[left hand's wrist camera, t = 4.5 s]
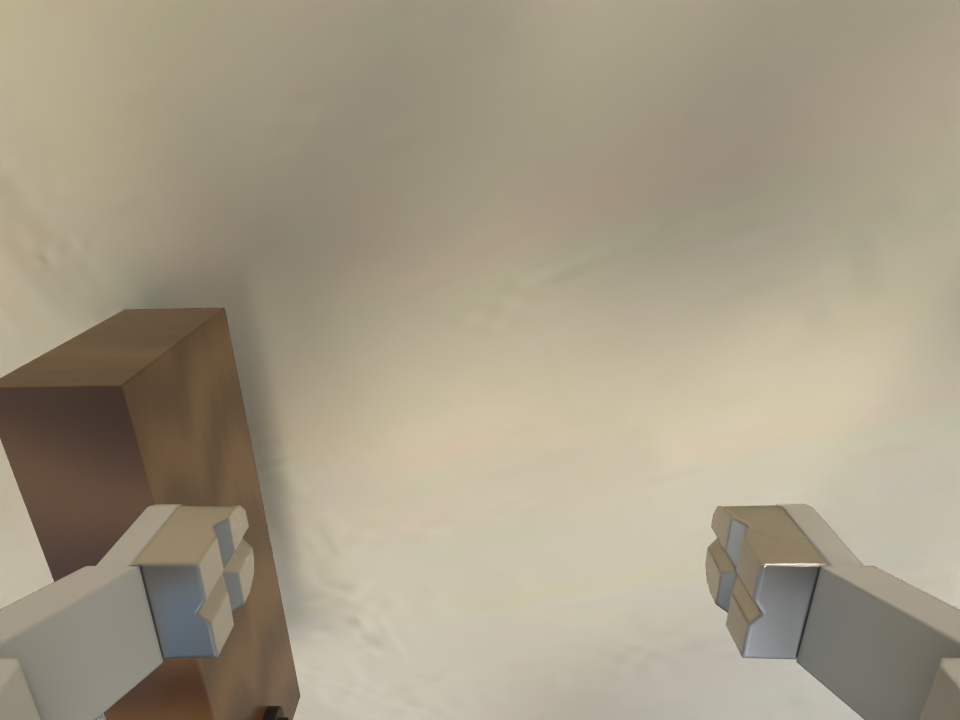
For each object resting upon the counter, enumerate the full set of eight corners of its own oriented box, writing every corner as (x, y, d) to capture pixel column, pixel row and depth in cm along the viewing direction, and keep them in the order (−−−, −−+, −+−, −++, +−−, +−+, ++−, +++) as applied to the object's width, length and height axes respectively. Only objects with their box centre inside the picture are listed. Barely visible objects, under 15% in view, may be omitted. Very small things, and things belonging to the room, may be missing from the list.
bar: (124, 309, 28) (-21, 388, 20) (225, 307, 28) (121, 386, 20) (225, 696, 37) (155, 852, 30) (300, 695, 37) (250, 852, 29)
